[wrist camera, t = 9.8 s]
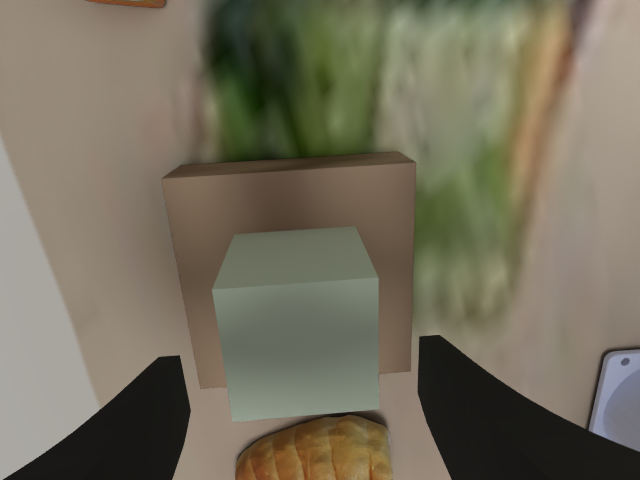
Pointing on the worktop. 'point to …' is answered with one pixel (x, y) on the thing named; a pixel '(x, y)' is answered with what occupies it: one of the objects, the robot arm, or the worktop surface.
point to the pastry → (320, 452)
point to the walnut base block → (294, 214)
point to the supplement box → (134, 2)
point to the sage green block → (298, 323)
